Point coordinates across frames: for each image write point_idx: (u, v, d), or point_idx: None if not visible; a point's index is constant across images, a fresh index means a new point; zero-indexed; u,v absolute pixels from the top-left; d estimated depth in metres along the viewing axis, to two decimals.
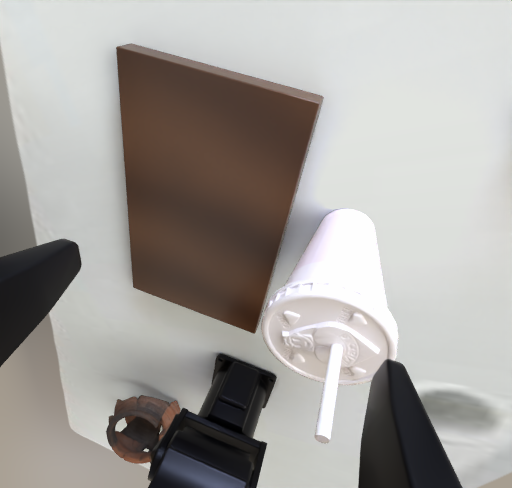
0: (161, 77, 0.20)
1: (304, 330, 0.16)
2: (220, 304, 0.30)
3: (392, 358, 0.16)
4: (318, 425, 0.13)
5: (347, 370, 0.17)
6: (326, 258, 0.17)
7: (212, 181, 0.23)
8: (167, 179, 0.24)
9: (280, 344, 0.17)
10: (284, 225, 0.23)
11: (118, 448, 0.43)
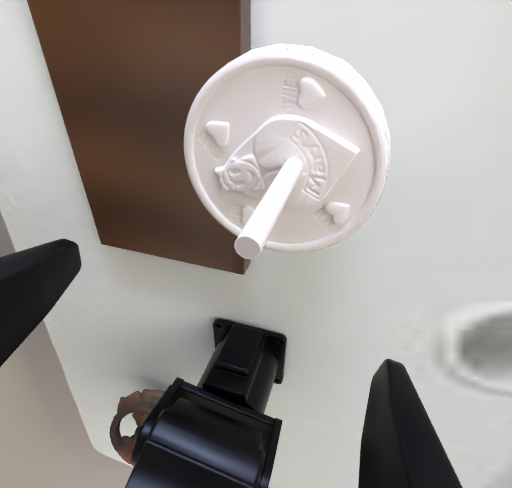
0: None
1: (241, 150, 0.10)
2: (196, 242, 0.24)
3: (382, 159, 0.10)
4: (241, 230, 0.07)
5: (323, 215, 0.11)
6: None
7: (143, 57, 0.18)
8: (96, 73, 0.20)
9: (221, 197, 0.12)
10: None
11: (125, 452, 0.37)
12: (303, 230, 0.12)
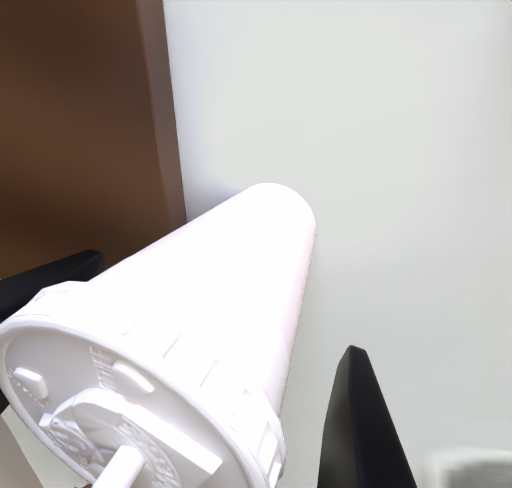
0: None
1: (64, 412, 0.07)
2: None
3: (258, 482, 0.06)
4: None
5: None
6: (146, 249, 0.08)
7: (51, 174, 0.15)
8: (0, 184, 0.16)
9: None
10: (168, 226, 0.14)
11: None
12: None
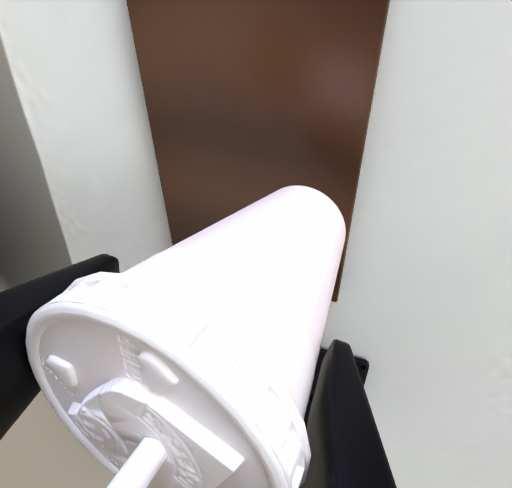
0: None
1: (92, 401, 0.07)
2: None
3: (280, 483, 0.06)
4: None
5: None
6: (175, 245, 0.09)
7: (258, 81, 0.17)
8: (199, 97, 0.18)
9: None
10: (367, 122, 0.17)
11: None
12: None
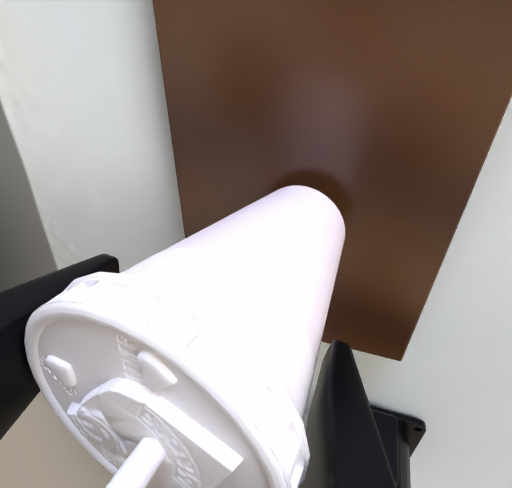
0: None
1: (90, 401, 0.07)
2: (340, 319, 0.18)
3: (280, 483, 0.06)
4: None
5: None
6: (174, 245, 0.09)
7: (334, 77, 0.12)
8: (244, 99, 0.13)
9: None
10: (491, 140, 0.11)
11: None
12: None
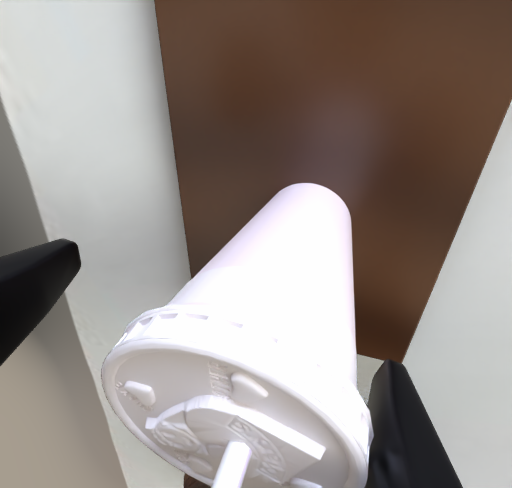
0: None
1: (172, 416, 0.08)
2: None
3: (359, 463, 0.07)
4: None
5: (289, 484, 0.08)
6: (218, 263, 0.09)
7: (335, 84, 0.12)
8: (245, 105, 0.13)
9: None
10: (490, 146, 0.12)
11: None
12: None
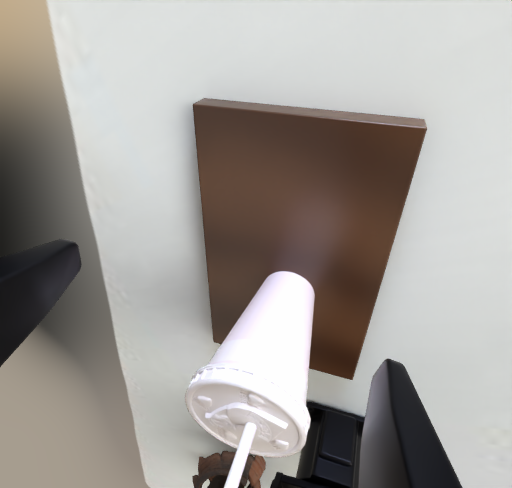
0: (241, 127, 0.19)
1: (220, 411, 0.17)
2: (311, 352, 0.27)
3: (301, 430, 0.16)
4: None
5: (274, 443, 0.18)
6: (238, 335, 0.19)
7: (300, 225, 0.21)
8: (250, 229, 0.23)
9: None
10: (386, 262, 0.21)
11: None
12: (263, 447, 0.18)
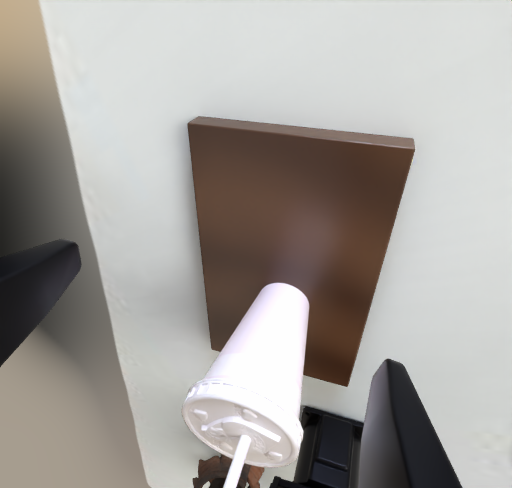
0: (235, 146, 0.19)
1: (215, 424, 0.18)
2: (307, 360, 0.28)
3: (294, 443, 0.17)
4: None
5: (268, 454, 0.18)
6: (233, 349, 0.19)
7: (294, 239, 0.22)
8: (245, 242, 0.23)
9: (207, 435, 0.19)
10: (378, 275, 0.21)
11: None
12: (258, 458, 0.19)
